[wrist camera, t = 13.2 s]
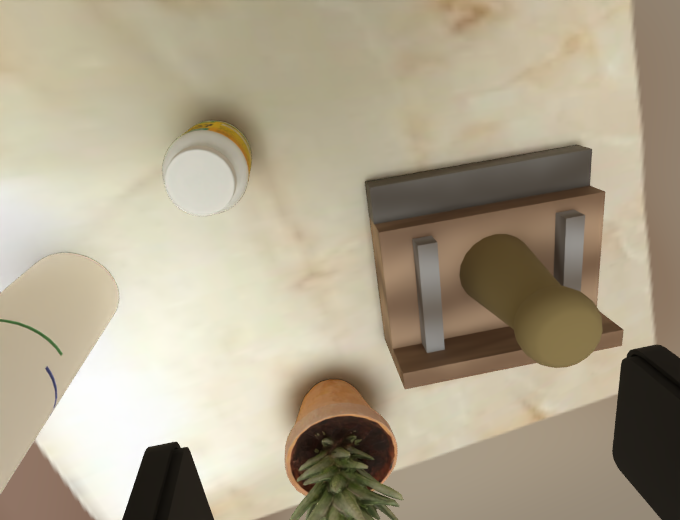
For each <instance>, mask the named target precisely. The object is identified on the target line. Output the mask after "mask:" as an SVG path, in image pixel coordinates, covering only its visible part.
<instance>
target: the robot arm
mask: <svg viewBox="0 0 680 520" xmlns="http://www.w3.org/2000/svg"><path fill="white" fill-rule="evenodd" d="M612 451H613V458H614V461H615V463H616V465H617V467H618V468H619V470H620V471H621V472H622V473H623V474H624V476H625V477H626V478H627V479H628V480H629V481H630V483H631V484H632V485H633V486H634V487H635V489H636V490H637V491H638V492H639V493H640V494H641V496H642V497H643V498H644V499H645V500H646V502H647V503H648V504H649V505H650V506H651V507H652V509H653V510H654V511H655V512H656V513H657V515H658V516H659V517H660V518H661V519H662V520H680V358H679V357H677V356H676V355H675V354H673V353H672V352H671V351H669V350H668V349H667V348H665V347H663V346H661V345H652V346H647V347H642V348H637V349H633V350H630V351H629V353H628V354H627V358H625V359H623V360H622V363H621V372H620V381H619V391H618V401H617V411H616V421H615V431H614V440H613V450H612ZM122 520H214V518H213V515H212V513H211V510H210V507H209V504H208V501H207V498H206V495H205V492H204V490H203V487H202V484H201V481H200V478H199V475H198V472H197V470H196V467H195V464H194V461H193V458H192V455H191V452H190V450H189V448H188V447H184V448H180V445H179V444H178V443H177V442H172V443H167V444H162V445H157V446H152V447H148V448H147V449H146V451H145V453H144V456H143V459H142V462H141V465H140V468H139V471H138V474H137V477H136V480H135V483H134V486H133V489H132V492H131V495H130V498H129V501H128V504H127V507H126V510H125V513H124V516H123V519H122Z"/></svg>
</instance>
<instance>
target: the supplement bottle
mask: <svg viewBox="0 0 680 520" xmlns="http://www.w3.org/2000/svg"><path fill="white" fill-rule="evenodd" d="M251 162H252V155H251V149H250V146H249V143H248V141H247V139H246V138H245V136H244V135H243V134H242V133H241V132H240V131H239V130H238V129H237V128H236V127H234V126H233V125H231V124H228V123H226V122H222V121H215V120H210V121H204V122H201V123H198V124H196V125H195V126H193V127H192V128H190V129H189V130H188V131H187V132H185V133H184V134H182V135H181V136H180V137H179V138H177V139H176V140H175V141H174V142H173V143H172V144H171V146H170V147H169V148H168V150H167V152H166V154H165V156H164V160H163V165H162V174H163V180H164V184H165V188H166V191H167V194H168V196H169V197H170V199H171V200H172V202H173V203H174V204H175V205H176V206H177V207H178V208H179V209H181V210H182V211H184V212H186V213H188V214H191V215H195V216H209V215H213V214H218V213H221V212H224V211H226V210H228V209H230V208H231V207H233V206H234V205H235V204H236V203H237V202H238V201H239V200H240V199H241V198H242V196H243V194H244V193H245V190H246V188H247V184H248V181H249V174H250V169H251Z"/></svg>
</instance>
